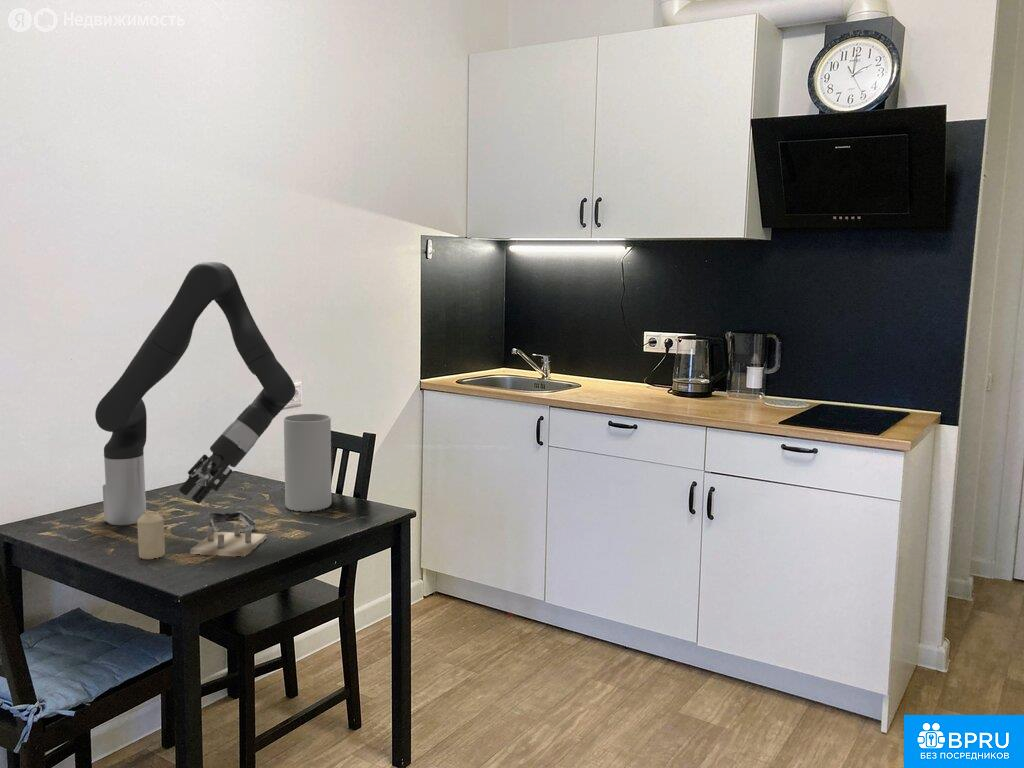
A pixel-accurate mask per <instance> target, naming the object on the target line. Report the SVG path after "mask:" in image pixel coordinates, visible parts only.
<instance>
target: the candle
mask: <svg viewBox="0 0 1024 768" xmlns="http://www.w3.org/2000/svg"><path fill="white" fill-rule="evenodd" d="M164 520H165V518H164V517H163V516H162V515H160V513H157V511H148V512H146V514H144V513H143V514H142V516H141V517H140V518H139V519H138V520H137V523H136V525H137V544H138V557H139V558H140V559H141V558H142V560H155V559H154V558H156V559H159V557H160V558H162V557H163V556H165V555H166V549H165V548H166V545H165V540H166V539H165V522H164Z"/></svg>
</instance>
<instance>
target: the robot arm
mask: <svg viewBox="0 0 1024 768" xmlns="http://www.w3.org/2000/svg"><path fill="white" fill-rule="evenodd" d="M213 301H214V302H215V303H216V305H218V307H219V308H220V310H221V311H222V313H223V315H224V316H225V318H226V320H227V322H228V324H229V327H230V328H229V329H230V331H231V335H232V336H231V337H232V340H233V344H234V346H235V348H236V350H237V352H238V353H239V355H240V357H241V359H242V360H243V362H244V363H245V365H246V367H247V368H248V370H249V371H250V372H251V374H252V375H254V376H255V377H256V378H257V380H258V381H259V383H260V384H261V386H262V389H261V390H260V392H259V394H257V396H256V397H255V399H254V400H253V401H252V402H251V403H250V404H249V405H248V406H247V407H246V408H245V409H244V410H243V411H242V412H241V413H240V414H239V415H238V416H237V418H236V419H235V420H234V421H233V422H231V423H230V424H229V425H228V426H227V427H226V429H225V430H223V432H222V433H221V435H219V436H218V438H217V439H216V440H215V441H214V443H213V444H212V445H210V448H209V451H210V452H211V453H212V455H210V456H209V455H207V454H203V455H201V457H200V458H199V459H198V461H196V463H195V464H193V466H192V467H191V468H190V469H189V470H188V472H187V474H188V478H187V479H186V481H184V483H183V484H182V485H181V486H180V487H179V489H178V492H180V493H181V494H183V495H184V496H187V495H188V494H189V493H190V492H191V491H192V490H193V489H194V488H195V486H196V485H197V484H198V483H199V482H200V481H202V480H204V481H203V483H202V485H200V487H199V488H198V489H197V490H196V491H195V493H194V494H192V496H191V500H192V501H194V502H195V503H197V504H200V503H201V502H202V501H203V500H204V499H205V498H206V496H207V495H208V494H210V492H213V491H215V492H216V491H218V490H219V489H220V488H221V487H222V485H223V484H224V483H225V481H226V480H227V479H228V478H229V477H230V475H231V474H232V473H233V470H232V468H236V467H237V466H239V463H240V462H241V461H242V460H243V459H244V458H245V457H246V455H247V454H248V453H249V452H250V451H251V449H252V448H253V447H254V446H255V445H256V443H257V442H258V440H259V438H260V437H261V436H262V435H263V434H264V433H265V431H266V430H267V429H268V428H269V427H270V425H271V424H272V422H273V420H274V419H275V418H276V416H278V415H279V414H280V412H282V410H283V409H284V408H285V407H286V406H287V405H288V404H289V403H290V402H291V401H293V398H294V397H295V394H296V386H295V383H294V381H293V380H292V378H291V376H290V375H289V373H288V372H287V371H286V369H285V368H284V367H283V366H282V364H281V363H280V362H279V361H278V359H277V358H276V356H275V354H274V352H273V350H272V348H271V347H270V346H269V344H268V342H267V341H266V339H265V337H264V335H263V334H262V332H261V331H260V328H259V327H258V325H257V323H256V321H255V319H254V317H253V315H252V313H251V311H250V309H249V307H248V304H247V301H246V299H245V298H244V295H243V293H242V291H241V288H240V285H239V282H238V280H237V278H236V276H235V274H234V271H233V270H232V269H231V268H230V267H229V266H228V265H227V264H225V263H222V262H219V261H218V262H217V261H207V262H206V261H205V262H199V263H197V264H195V265H194V266H193V267H192V268H190V270H189V271H188V272H187V274H186V276H185V278H184V279H183V281H182V283H181V285H180V288H179V289H178V291H177V293H176V294H175V296H174V298H173V300H172V302H171V304H170V305H169V306H168V308H167V309H166V310H165V312H164V313H163V315H162V316H161V317H160V318H159V320H158V321H157V322H156V324H155V325H154V327H153V328H152V330H151V331H150V332H149V334H148V336H147V337H146V339H145V340H144V342H142V345H141V346H140V347H139V348H138V351H137V352H136V354H135V355H134V357H133V358H132V359H131V361H130V362H129V364H128V365H127V367H126V369H125V370H124V372H123V373H122V375H121V376H120V377H119V379H118V380H117V381H116V382H115V383H114V384H113V386H111V388H110V389H109V390H108V392H107V393H106V394H105V395H104V396H103V397H102V398H100V399H101V400H99V402H98V404H97V406H96V408H95V412H94V415H95V421H96V424H97V425H98V427H99V428H100V429H101V430H103V431H105V432H109V433H112V434H111V437H110V438H109V440H108V442H106V444H105V445H104V448H103V457H104V479H105V484H103V485H102V501H103V504H102V505H103V521H104V522H106V523H108V524H109V525H111V526H129V525H135V524H136V525H137V520H138V519H139V518H140V517H141V516H142V514H143V513H144V514H146V513H147V499H146V479H145V475H146V474H145V459H144V458H145V457H144V453H145V452H144V448H145V445H146V443H147V418H148V417H147V408H146V404H145V402H144V400H143V398H144V396H145V395H146V394H147V393H148V392H149V391H150V390H151V389H152V388H153V387H154V386H156V384H157V383H159V382H160V381H162V380H163V379H164V378H165V377H166V376H167V375H168V374H169V373H170V372H171V371H172V370H173V369H174V368H175V367H176V365H177V364H178V363H179V361H180V360H181V358H182V357H183V356H184V354H185V353H186V351H187V349H188V348H189V345H190V343H191V339H192V336H193V331H194V327H195V324H196V323H197V320H198V319H199V317H200V316H201V315H202V314H203V312H204V311H205V310H206V308H207V307H208V306H209V305H210V304H211V303H212V302H213ZM230 467H231V468H230Z"/></svg>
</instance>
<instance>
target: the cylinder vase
mask: <svg viewBox="0 0 1024 768" xmlns="http://www.w3.org/2000/svg"><path fill="white" fill-rule="evenodd" d="M331 420H332V418H331V416H330V415H327V414H321V413H299V414H291V415H287V416H284V418H283V444H284V447H283V448H284V451H283V452H284V453H283V454H284V455H283V456H284V500H285V501H284V503H285V508H286V509H288V510H290V511H293V510H294V511H293V512H298V511H301V512H300V513H305V512H306V513H308V512H309V513H310V511H312V512H319V511H323V510H325V508H326V509H328V508H329V507H330V506H331V505H332V430H331V429H332V425H331V423H332V421H331ZM322 509H323V510H322ZM318 510H319V511H318Z"/></svg>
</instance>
